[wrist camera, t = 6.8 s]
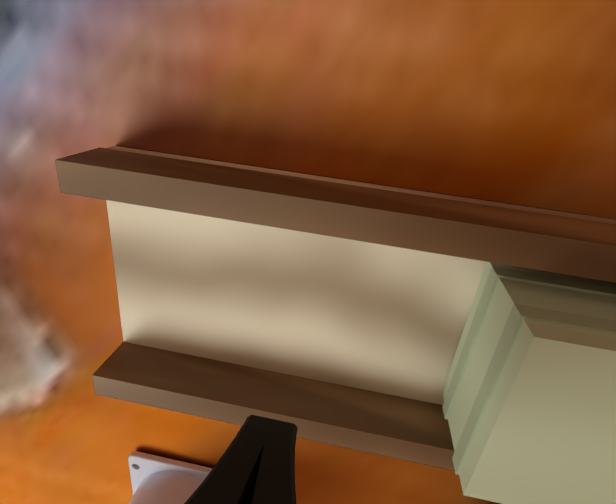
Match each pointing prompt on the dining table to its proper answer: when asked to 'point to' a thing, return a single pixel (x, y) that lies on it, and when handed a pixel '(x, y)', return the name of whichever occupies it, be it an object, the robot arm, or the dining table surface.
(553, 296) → the pale green block
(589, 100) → the dining table surface
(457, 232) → the bay
